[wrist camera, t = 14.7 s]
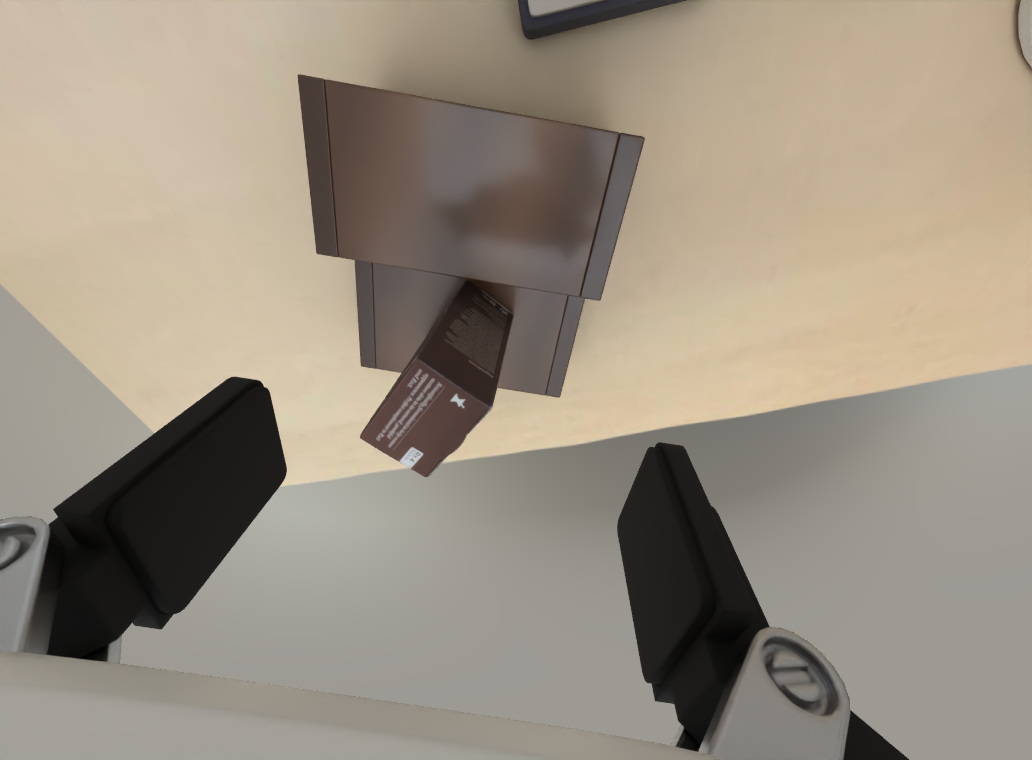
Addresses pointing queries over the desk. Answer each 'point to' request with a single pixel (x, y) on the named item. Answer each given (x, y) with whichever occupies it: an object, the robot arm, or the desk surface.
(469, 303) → the box
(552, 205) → the step shelf
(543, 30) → the calculator
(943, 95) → the desk surface
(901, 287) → the desk surface
